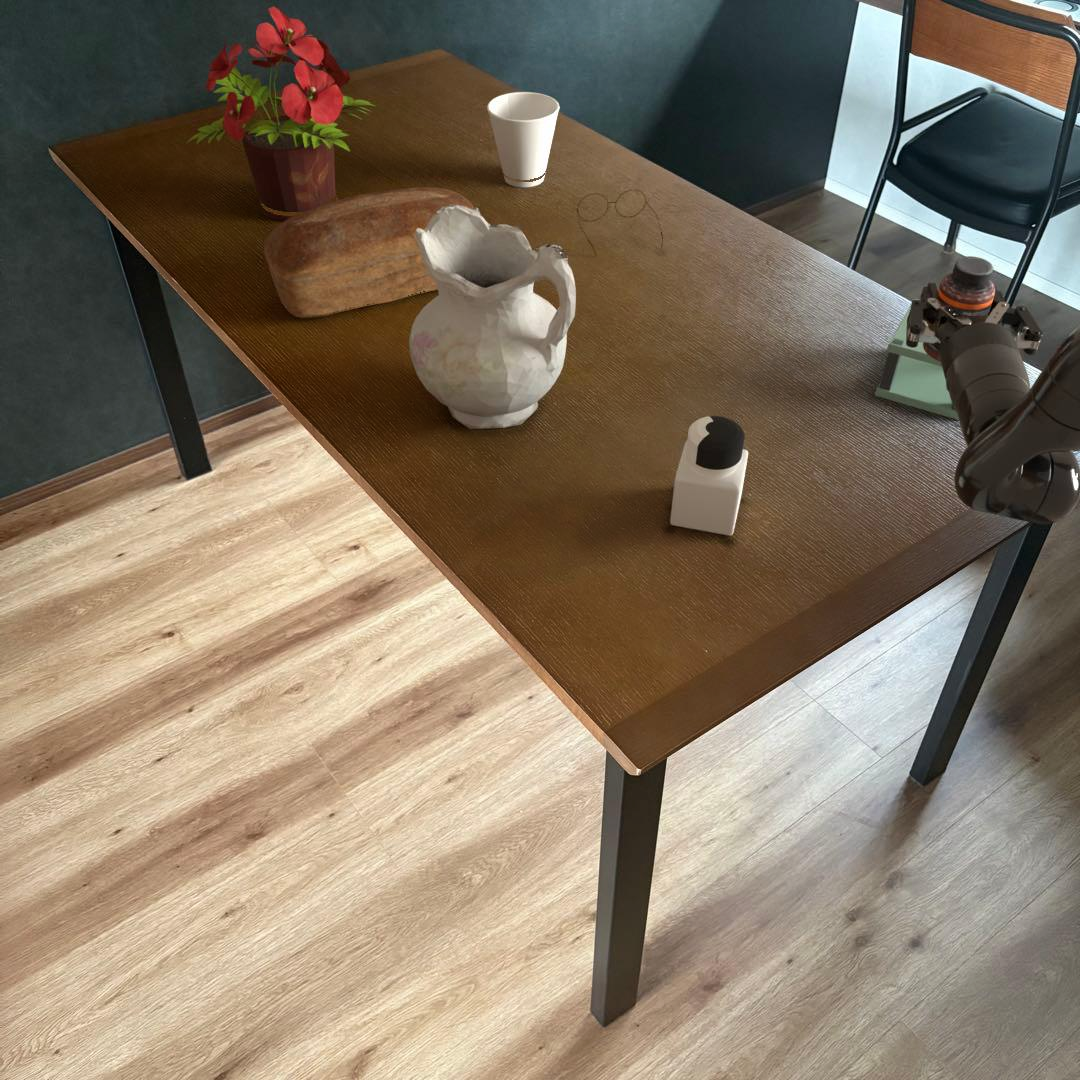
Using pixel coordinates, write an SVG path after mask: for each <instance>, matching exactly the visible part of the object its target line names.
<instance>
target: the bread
mask: <svg viewBox="0 0 1080 1080" xmlns="http://www.w3.org/2000/svg"><path fill="white" fill-rule="evenodd" d="M450 204H451V205H453V204H456V205H459V206H465V207H467V208H469V209H472V210H475V209H476V207H474V205H473V203H472V202H471V201H470V200H469V199H467V198H466V197H465V196H463V195H462V194H460V193H458V192H456V191H454V190H450V189H446V188H441V187H432V186H427V187H426V186H418V187H417V186H416V187H410V188H400V189H391V190H383V191H375V192H366V193H360V194H355V195H352V196H349V197H344V198H342V199H338V201H335V202H332V203H329V204H326V205H323V206H320V207H317V208H313V209H310V210H307V211H305V212H302V213H299V214H297V215H295V216H293V217H291V218H289V219H287V220H286V221H281V223H279V224H278V225H277V226H276V227H275V228H273V229H272V230H271V232H270V233H269V234H268V235H267V236H266V240H264V242H263V253H264V256H265V259H266V260H267V264H268V268H269V272H270V275H271V278H272V281H273V284H274V286H275V289H276V292H277V295H278V298H279V297H280V298H279V301H280V302H282V303H281V304H282V306H283V305H284V306H283V307H284V308H285V310H286V309H287V310H286V311H287V312H288V313H289V314H290V315H292V316H294V317H295V318H297V317H307V318H303V320H305V319H317V318H325V317H328V316H332V315H336V314H339V313H342V312H345V311H351V310H355V309H359V308H364V307H368V306H373V305H374V306H375V305H379V304H385V303H390V302H394V301H397V300H401V299H405V298H408V297H411V296H416V295H419V294H423V293H428V292H433V291H438V288H437V285H436V283H435V281H434V280H433V279H432V277H431V276H430V274H429V272H428V270H427V268H426V267H425V264H424V261H423V258H422V256H421V252H420V248H419V244H418V242H417V240H416V239H415V238H414V237H415V232H416V230H417V228H421V229H422V230H423V229H425V228H426V226H427V224H428V222H429V221H430V219H431V218H432V217H433V216H434V215H435V214H437V213H436V212H437V211H438V210H439V209H441V208H442V207H443V206H445V207H446V206H448V205H450ZM423 291H425V292H423ZM420 292H421V293H420ZM415 293H417V294H415ZM411 294H413V295H411ZM408 295H409V296H408ZM373 303H374V304H373ZM367 304H369V305H367ZM363 305H364V306H363ZM358 306H359V307H358ZM354 307H355V308H354ZM349 308H351V309H349ZM345 309H346V310H345ZM341 310H342V311H341ZM337 311H338V312H337ZM333 312H335V313H333ZM330 313H331V314H330ZM325 314H327V315H325ZM319 315H323V316H319ZM311 316H316V317H311Z"/></svg>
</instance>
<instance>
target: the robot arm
mask: <svg viewBox="0 0 1080 1080" xmlns="http://www.w3.org/2000/svg"><path fill="white" fill-rule="evenodd" d="M994 287H995V295H994V299H993V302H992V305H991V308H990V311H989V314H988V317H986V316H967V315H961V314H960V313H959V312H958V311H956V310H955V309H954V308H953V307H952V306H950V305H948V306H945V305H944V304H942V303H941V302H940V301H939V299H940V297H939V294H938V287H937V283H936V282H928V283H927V286H923V288H922V291H921V294H920V298H919V299H918V300H914V299H913V300H911V303H910V306H911V308H910V312H909V316H908V318H907V330H906V345H907V346H908V347H911V348H915V347H917V346H918V342H924V343H932V344H933V346H934V348H935V349H936V350H938V351H939V353H940V360H941V365H942V368H943V372H944V376H945V380H946V387H947V390H948V391H949V395H950V398H951V402H952V404H953V406H954V408H955V410H956V412H957V415H958V419H959V420H958V422H959V426H960V430H961V434H962V437H963V439H964V441H965V443H966V448H965V449H964V451H963V452H962V454H961V456H960V458H959V460H958V462H957V464H956V467H955V471H954V480H953V481H954V488H955V492H956V494H957V497H958V498H959V500H960V501H961V502H962V503H963V504H964V505H965V506H967V507H968V508H969V509H972V510H974V511H977V512H980V513H981V512H982V513H985V514H990V515H994V516H995V515H996V516H1000V517H1005V518H1009V519H1014V520H1018V521H1021V522H1027V523H1032V524H1036V525H1049V524H1054V523H1057V522H1060V521H1063V520H1064V519H1065V518H1066V517H1068V515H1070V514H1071V513H1072V511H1074V509H1075V508H1076V506H1077V504H1078V502H1079V500H1080V463H1079V461H1078V459H1077V457H1076V455H1075V453H1074V452H1080V325H1079V326H1077V327H1076V328H1075V329H1073V331H1071V332H1070V333H1069V334H1068V335H1067V336H1066V337H1065V338H1064V340H1063V341H1062V342H1061V343H1060V345H1059V346H1058V347H1057V348H1056V350H1055V351H1054V353H1053V354H1052V355H1051V357H1050V358H1049V360H1048V362H1047V363H1046V365H1045V366H1044V367H1043V369H1042V370H1041V372H1040V373H1039V374H1038V377H1036V379H1035V380H1034V382H1033V383H1032V385H1031V383H1030V377H1029V374H1028V371H1027V368H1026V365H1025V363H1024V360H1023V358H1022V354H1021V352H1020V349H1022V351H1023V352H1024V353H1025V354H1026V355H1029V356H1035V355H1036V354H1037V351H1038V349H1039V346H1040V343H1041V340H1042V338H1043V335H1044V332H1043V330H1042V329H1041V327H1040V325H1039V324H1038V323H1037V321H1036V319H1035V318H1034V317H1033V315H1032V314H1031V312H1030V311H1029V309H1028V308H1027V307H1026V306H1024V305H1017V306H1016V307H1015V308H1014V307H1011V306H1010V303H1008V302H1007V301H1006V299H1005V297H1004V294H1003V292H1001V290H998V289H997V286H996V285H994ZM935 315H936V317H935ZM927 324H928V325H929V326H930V327H931V328H932V331H931V330H929V327H928V326H926V325H927ZM1004 325H1007V326H1009V327H1008V328H1009V329H1010V330H1009V329H1008V328H1007V327H1005V326H1004Z"/></svg>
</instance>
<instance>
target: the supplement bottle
mask: <svg viewBox="0 0 1080 1080" xmlns="http://www.w3.org/2000/svg"><path fill="white" fill-rule="evenodd" d="M993 272H994V265H993V264H992V263H991V262H990V261H988V260H987V259H985V258H983V257H979V256H972V255H970V256H969V255H967V256H963V257H959V258H958V259H957V260H956V261H955V264H954V266H953V269H952V272H950V273H948V274H947V275H944V277H943V278H942V279H941V281H940V282H939V285H938V288H937V290H938V294H939V297H940V299H939V301H940V302H941V303H942V304H944V305H945V306H948V305H950V306H952V307H953V308H954V309H955V310H956V311H958V312H959V313H960V314H961V315H967V316H986V317H988V314H989V311H990V308H991V305H992V302H993V299H994V295H995V287H994V286H995V284H994V283H993V282H992V281H991V279H992V276H993ZM935 317H936V315H935ZM928 327H929V330H931V331H932V328H931V327H930V326H929V325H928ZM923 348H924V350H925V352H926V353H927V354H928V355H929V356H930V357H932V358H934V359H935V360H937V361H940V362H941V360H940V353H939V351H938V350H936V349H935V348H934V346H933V344H932V343H924V342H923Z"/></svg>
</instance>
